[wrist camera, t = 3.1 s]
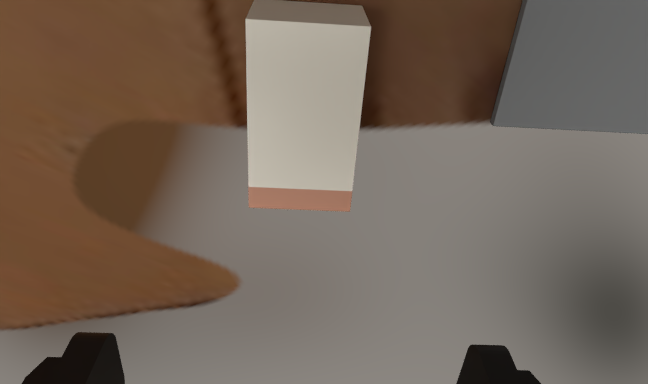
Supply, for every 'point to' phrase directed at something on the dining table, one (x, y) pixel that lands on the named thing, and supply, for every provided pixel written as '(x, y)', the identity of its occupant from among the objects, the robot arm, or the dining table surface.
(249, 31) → the cream block
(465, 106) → the dining table surface
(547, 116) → the mat
